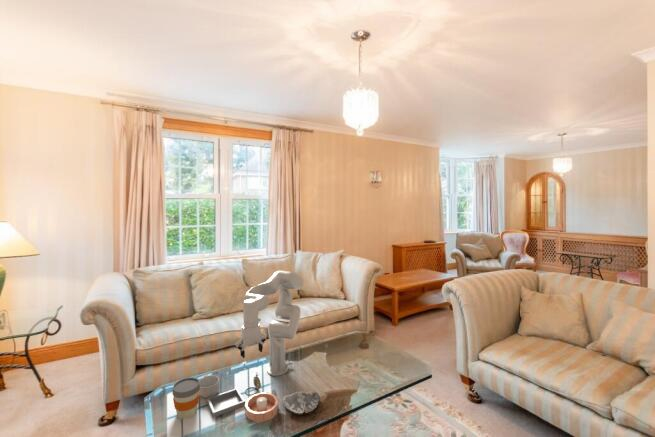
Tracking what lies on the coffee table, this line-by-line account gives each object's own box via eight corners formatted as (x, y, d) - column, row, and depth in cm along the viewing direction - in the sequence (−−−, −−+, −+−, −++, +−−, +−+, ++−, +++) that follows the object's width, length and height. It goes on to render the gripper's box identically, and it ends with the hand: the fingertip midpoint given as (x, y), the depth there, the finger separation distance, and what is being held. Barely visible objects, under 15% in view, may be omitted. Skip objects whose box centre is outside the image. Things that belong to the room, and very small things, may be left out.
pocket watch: (243, 395, 174) (242, 377, 173) (250, 386, 182) (250, 369, 181) (256, 397, 172) (256, 380, 171) (263, 388, 180) (263, 371, 180)
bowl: (270, 396, 173) (270, 388, 173) (283, 414, 160) (283, 405, 160) (241, 407, 164) (241, 399, 164) (252, 427, 151) (252, 418, 151)
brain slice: (285, 421, 155) (285, 416, 155) (281, 399, 172) (281, 394, 171) (324, 414, 160) (324, 409, 160) (316, 393, 177) (317, 388, 176)
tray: (237, 393, 176) (237, 388, 176) (245, 406, 165) (245, 401, 165) (206, 403, 167) (206, 398, 167) (213, 418, 156) (213, 412, 156)
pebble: (264, 404, 166) (264, 395, 165) (268, 410, 161) (268, 401, 161) (255, 408, 163) (255, 399, 162) (258, 414, 159) (258, 404, 158)
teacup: (220, 398, 171) (219, 384, 171) (198, 403, 167) (197, 388, 167) (218, 383, 184) (218, 370, 183) (198, 387, 180) (198, 374, 179)
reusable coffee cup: (195, 401, 169) (195, 374, 167) (204, 414, 159) (203, 385, 158) (170, 411, 161) (169, 383, 159) (177, 426, 151) (176, 396, 150)
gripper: (263, 316, 175) (263, 345, 177) (232, 324, 165) (233, 356, 167) (269, 321, 169) (269, 351, 171) (237, 330, 159) (238, 362, 161)
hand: (251, 353), depth 169 cm, fingers open, 9 cm apart
